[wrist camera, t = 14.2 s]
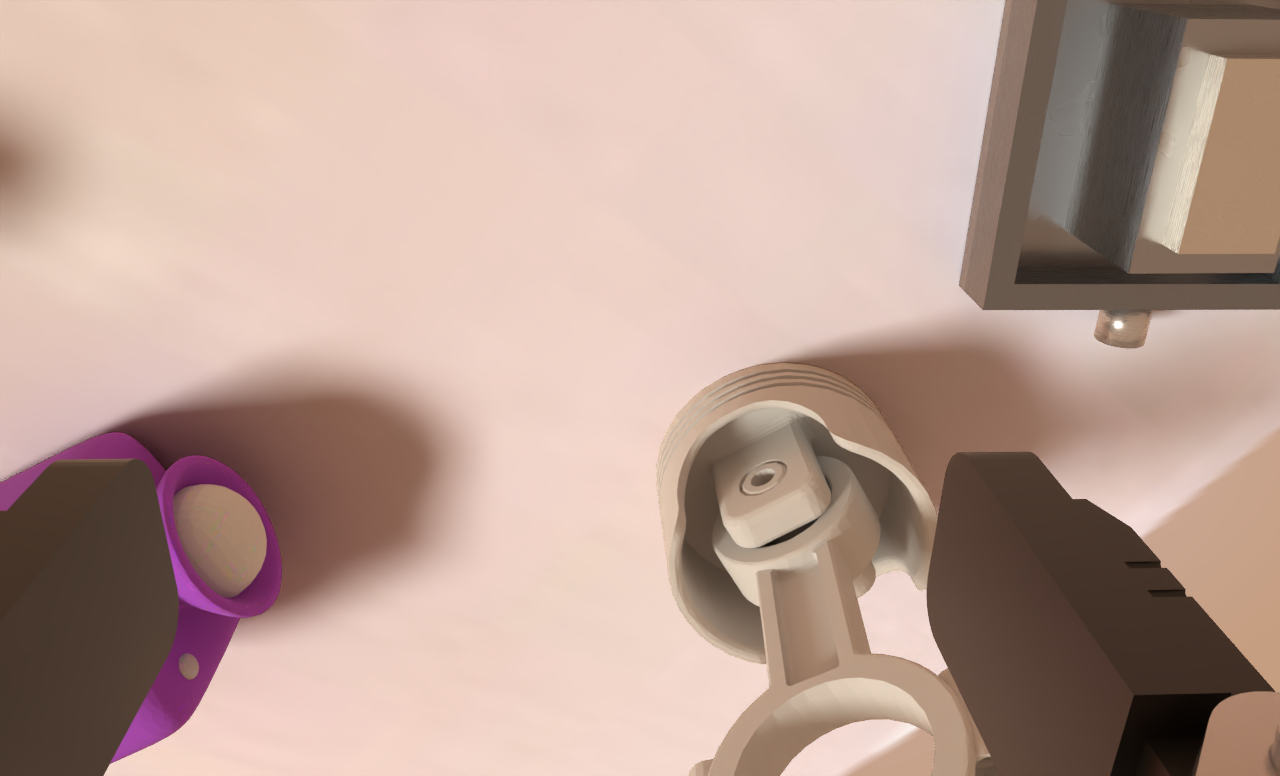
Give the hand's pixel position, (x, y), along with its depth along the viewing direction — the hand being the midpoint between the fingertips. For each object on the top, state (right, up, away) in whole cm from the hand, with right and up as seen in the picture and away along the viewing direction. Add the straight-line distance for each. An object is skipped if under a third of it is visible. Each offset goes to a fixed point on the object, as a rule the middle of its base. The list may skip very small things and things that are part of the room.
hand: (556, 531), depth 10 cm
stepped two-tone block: (+19, +11, +26) cm, 35 cm away
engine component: (+6, -2, +33) cm, 33 cm away
